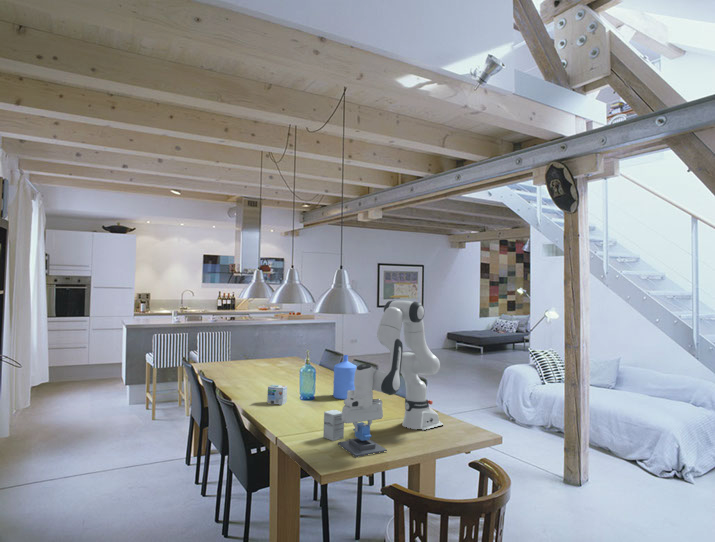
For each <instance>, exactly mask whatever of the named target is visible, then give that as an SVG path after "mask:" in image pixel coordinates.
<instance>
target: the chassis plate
mask: <svg viewBox="0 0 715 542" xmlns="http://www.w3.org/2000/svg"><path fill="white" fill-rule="evenodd" d="M337 445H338V446H339V445H340V446H339V447H341V448H342V447H343V448H344V449H343V448H342V449H343V450H345V451H346V450H347V451H346V452H348V453H349V452H350V453H351V454H350V453H349V454H350V455H352V456H353V455H354V456H355V457H354V456H353V457H354V458H359V457H358V456H362V457H365V456H364V455H367V456H369V455H368V454H373V453H379V452H384V451H387V452H388V449H386V448H385V447H383V446H381V445H380V444H378V443H377V442H375V441H374V440H372V439H370V440H364V441H361V440H360V439H358V438H357V437H354V438H349V439H348V440H343V441H337ZM379 454H380V453H379ZM373 455H374V454H373Z"/></svg>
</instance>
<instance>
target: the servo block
mask: <svg viewBox="0 0 715 542" xmlns="http://www.w3.org/2000/svg"><path fill="white" fill-rule="evenodd" d="M367 424H368V423H366V422H364V421H362V422H358V424H356V425H357V427H359V431H358V432H356V431H355V428H353V429H352V430H353V431H354V438H358V439H360V440H361V441H364V440H371V438H372V437H373V436H372V434H371V425H370V426H369V425H367Z"/></svg>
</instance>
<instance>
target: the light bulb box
mask: <svg viewBox="0 0 715 542" xmlns="http://www.w3.org/2000/svg"><path fill="white" fill-rule="evenodd" d="M266 397H267V399H266V404H267V403H271V404H270V405H274V404H279V405H278V406H283V404H284V405H286V404H287V403H288V401H287V397H288V385H281V384H280V385H279V384H270V385H269V386H268V387H267V396H266ZM286 402H287V403H286ZM285 403H286V404H285Z"/></svg>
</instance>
